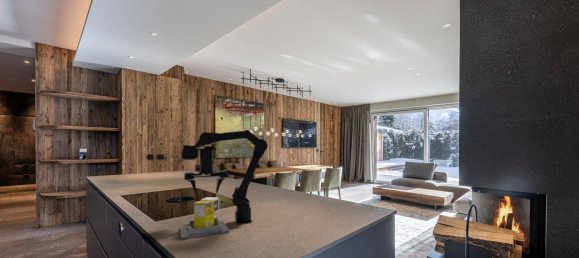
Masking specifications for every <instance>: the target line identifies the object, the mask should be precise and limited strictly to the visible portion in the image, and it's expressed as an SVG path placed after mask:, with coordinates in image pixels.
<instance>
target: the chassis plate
mask: <svg viewBox="0 0 579 258" xmlns="http://www.w3.org/2000/svg"><path fill="white" fill-rule="evenodd" d="M179 232H180V238H181V240H186V239H193V238H199V237H205V236H206V237H207V236H213V235H219V234H226V233H230V229H229V227H228V226H227V225H226V224H225V221H223V220H222V221H220V220H219V219H218V217H215V218H214V226H210V227H203V228H195V229H194V219H192V220H191V219H190V220H187V221H186V225H185V226H183V225H182V226H179Z"/></svg>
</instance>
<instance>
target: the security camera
mask: <svg viewBox="0 0 579 258" xmlns="http://www.w3.org/2000/svg"><path fill="white" fill-rule="evenodd" d="M201 200H211V201H214V214H215V213H217V212H219V210H220V198H219V197H213V196H212V197H210V196H209V197H207V196H206V197H204V198H202V199H201ZM201 200H200V201H201ZM214 218H216V215H214Z"/></svg>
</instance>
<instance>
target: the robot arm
mask: <svg viewBox="0 0 579 258" xmlns="http://www.w3.org/2000/svg"><path fill="white" fill-rule="evenodd" d="M241 139H243V140H244V139H246V140H248V141H249V143H251V144H252V145H254V149H253V152H252V157H251V159H250V162H249V164H248V167H247V169H246V171H245V173H244V175H243V179H242V181H241V183H240V184H239V186H237V185H236V186H235V188H234V192H233V193H232V194H231V197H232V199H231V201H232V204H233V205H234V206H236V208H235V211H234V221H235V222H236V223H237V224H239V225H240V224H246V223H247V224H249V223H252V222H253V220H252V213H251V212H252V208H251V200H249V199H248V198H247V193H248V190H249V185H250V183H251V181H252V179H253V177H254V173H255V171H256V169H257V167H258V165H259V161H260V160H261V158H262V157H263V155H264V154H265V152H266V150H267V149H268V142H267V141H266V140H265V139H260V138H259V137H257V136H256V135H255V134H254V133H253V132H252V131H250V130H249V129H244V130H239V131H228V132H222V133H221V132H209V131H208V132H207V131H206V132H205V131H204V132H202V133H201V134H200V135H199V139H198V140H197V142H196V143H195V144H194V145H188V144H184V145H183V148H182V152H181V158H182V161H196V160H197V159H198V158H199V164H195V165H194V171H195V172H194V171H190V172H189V171H187V172H184V173H183V179H184V181H186V182H188V183H189V182H190V184H191V187H192V189H193V192H194V195H195V196H196V195H197V187H196V186H197V185H196V179H195V178H211V177H213V178H214V177H216V185H215V194H218V192H219V189H220V186H221V185H222V183H223V181H224V180H226V179H227V178H229V172H228V171H227V170H217V172H214V151H215V150H218V147H216V145H215V144H217V143H219V142H223V141H224V142H225V141H235V140H241ZM202 147H204V148H202Z"/></svg>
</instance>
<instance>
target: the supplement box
mask: <svg viewBox="0 0 579 258" xmlns="http://www.w3.org/2000/svg"><path fill="white" fill-rule="evenodd" d="M214 216H215V213H214V201H211V200H198V201H194V202H193V220H194V229H195V228H203V227H210V226H214Z"/></svg>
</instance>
